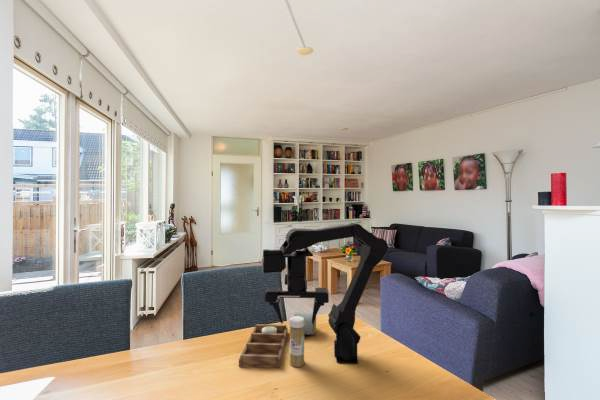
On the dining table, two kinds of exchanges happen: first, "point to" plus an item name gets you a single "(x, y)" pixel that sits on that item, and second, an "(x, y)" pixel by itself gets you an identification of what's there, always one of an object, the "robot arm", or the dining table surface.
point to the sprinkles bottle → (297, 341)
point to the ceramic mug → (307, 322)
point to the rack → (264, 346)
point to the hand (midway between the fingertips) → (297, 323)
